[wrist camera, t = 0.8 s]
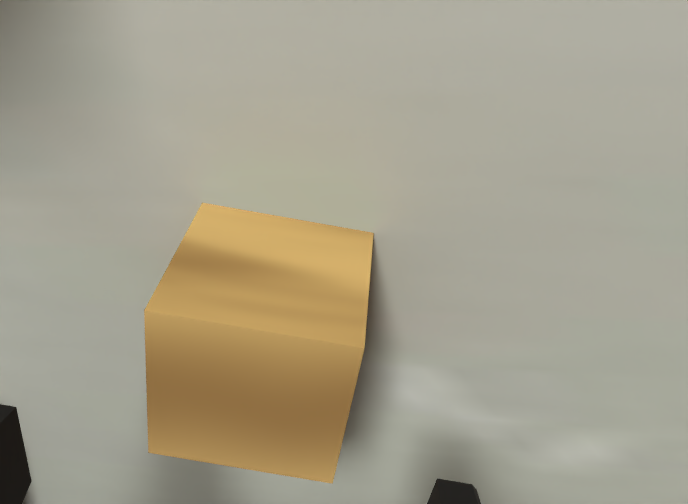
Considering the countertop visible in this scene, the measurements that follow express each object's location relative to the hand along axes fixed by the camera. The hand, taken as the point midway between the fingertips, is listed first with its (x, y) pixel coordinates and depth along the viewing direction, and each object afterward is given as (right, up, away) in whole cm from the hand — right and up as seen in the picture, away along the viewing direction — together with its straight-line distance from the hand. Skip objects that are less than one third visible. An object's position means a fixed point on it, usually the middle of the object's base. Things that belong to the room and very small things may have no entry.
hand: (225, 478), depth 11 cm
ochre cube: (0, +3, +5) cm, 6 cm away
